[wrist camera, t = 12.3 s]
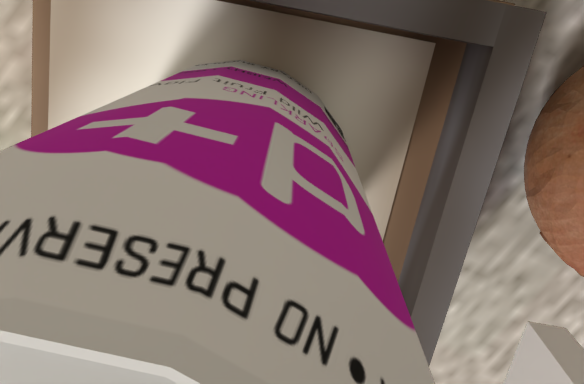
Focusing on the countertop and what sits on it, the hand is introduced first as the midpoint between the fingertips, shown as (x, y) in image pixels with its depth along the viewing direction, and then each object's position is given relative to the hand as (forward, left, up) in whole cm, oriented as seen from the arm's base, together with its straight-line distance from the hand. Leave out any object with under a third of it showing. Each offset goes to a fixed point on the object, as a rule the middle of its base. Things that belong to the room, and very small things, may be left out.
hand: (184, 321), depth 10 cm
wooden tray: (0, 0, -14) cm, 14 cm away
